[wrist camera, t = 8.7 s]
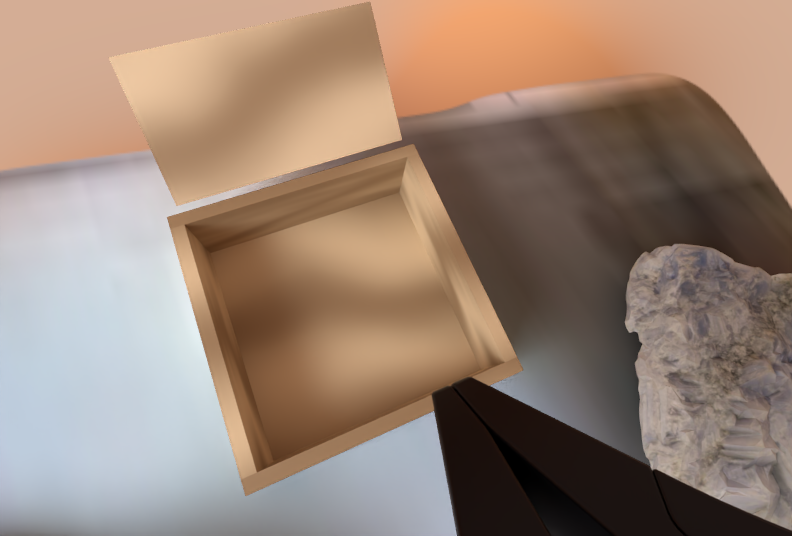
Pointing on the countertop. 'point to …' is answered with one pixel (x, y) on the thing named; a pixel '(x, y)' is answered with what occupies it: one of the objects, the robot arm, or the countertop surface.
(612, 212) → the countertop surface
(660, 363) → the rock
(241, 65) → the flap
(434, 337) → the carton
